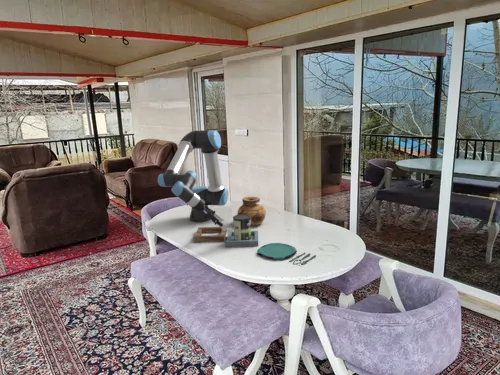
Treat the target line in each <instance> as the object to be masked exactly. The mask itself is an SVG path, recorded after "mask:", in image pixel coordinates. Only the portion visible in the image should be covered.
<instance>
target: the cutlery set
mask: <svg viewBox="0 0 500 375" xmlns="http://www.w3.org/2000/svg"><path fill="white" fill-rule="evenodd" d="M297 252H298V251H297V249H296V247H295V246H292V245H290V244H287V243H282V242H270V243H268V244H264V245H262V246H261V247H259V248H258V249H257V254H260V255H261V256H263V257H265V258H268V259H275V260H277V261H278V260H284V259H286V258H291V257H292V256H293V255H295V254H296V253H297ZM304 254H305V256H303V255H304ZM302 256H303V257H302ZM309 256H311V253H307V254H306V252H303V253H301V254H299V255H297V256H296V257H294V258H292V259H290V260H289V261H288V263H289V262H290V263H291V262H292V263H293V264H295V261H296V262H297V263H296V265H299V264H298V263H299V262H300V264H301V265H303V266H305V265H307V264H308V262H310V261H311V260H313V259H314V258H317V257H316V256H317V255H316V254H314V255H313V256H311V257H310V258H308V259H307V260H304V259H305V258H307V257H309ZM300 257H302V258H301V259H299V258H300ZM298 260H299V261H298ZM302 260H303V261H302ZM309 260H310V261H309Z"/></svg>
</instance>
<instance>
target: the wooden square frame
mask: <svg viewBox="0 0 500 375" xmlns="http://www.w3.org/2000/svg"><path fill="white" fill-rule="evenodd" d="M227 232H228V228H227V229H226V230H225V231H224V230H223V229H222V228H221V227H219V226H205V227H204V226H202V227H201V226H200V227H198V228H197V230H196V232H195V235H194V236H193V241H194V243H210V242H211V243H212V242H213V243H214V242H225V240H226V238H227V237H226V236H227ZM217 233H218V234H217ZM219 233H220V234H219ZM202 234H207V235H202ZM209 234H214V235H209Z"/></svg>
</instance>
